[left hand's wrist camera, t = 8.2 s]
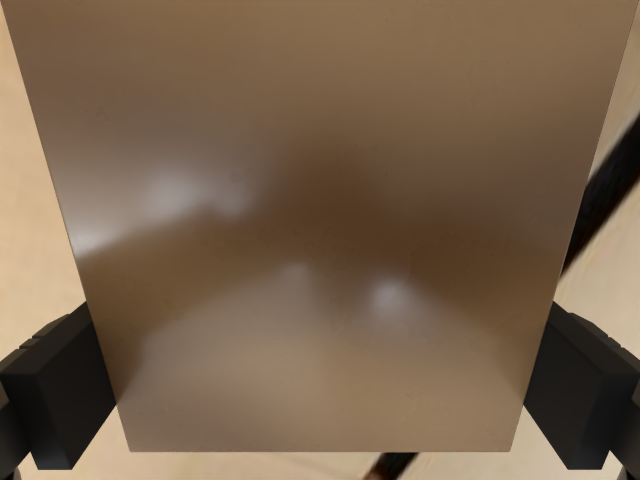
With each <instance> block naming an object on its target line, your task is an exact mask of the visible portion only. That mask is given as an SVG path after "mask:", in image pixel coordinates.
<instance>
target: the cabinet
mask: <svg viewBox="0 0 640 480" xmlns="http://www.w3.org/2000/svg"><path fill="white" fill-rule="evenodd" d="M0 1H1V5H2V8H3V12H4V15H5V19H6V22H7V26H8V29H9V33H10V36H11V39H12V43H13V46H14V50H15V53H16V57H17V60H18V64H19V67H20V71H21V74H22V78H23V81H24V85H25V88H26V92H27V95H28V99H29V102H30V106H31V109H32V113H33V116H34V120H35V123H36V127H37V130H38V134H39V137H40V140H41V144H42V147H43V151H44V154H45V158H46V161H47V165H48V168H49V172H50V175H51V179H52V182H53V186H54V189H55V193H56V196H57V200H58V203H59V207H60V210H61V214H62V217H63V221H64V224H65V228H66V231H67V235H68V238H69V241H70V245H71V248H72V252H73V255H74V259H75V262H76V266H77V269H78V273H79V276H80V280H81V283H82V287H83V290H84V294H85V297H86V301H87V304H88V308H89V311H90V315H91V318H92V322H93V325H94V329H95V332H96V336H97V339H98V342H99V346H100V349H101V353H102V356H103V360H104V363H105V367H106V370H107V374H108V377H109V381H110V384H111V388H112V391H113V395H114V398H115V402H116V405H117V409H118V412H119V416H120V419H121V423H122V426H123V430H124V433H125V437H126V440H127V443H128V447H129V450H130V452H509V451H510V449H511V446H512V442H513V439H514V435H515V432H516V428H517V425H518V421H519V418H520V414H521V411H522V407H523V404H524V400H525V397H526V393H527V390H528V386H529V383H530V379H531V376H532V372H533V369H534V365H535V362H536V358H537V355H538V351H539V348H540V344H541V341H542V337H543V333H544V330H545V326H546V323H547V319H548V316H549V312H550V309H551V305H552V302H553V298H554V295H555V291H556V288H557V284H558V281H559V277H560V274H561V270H562V267H563V263H564V260H565V256H566V253H567V249H568V246H569V242H570V239H571V235H572V232H573V228H574V225H575V221H576V218H577V214H578V211H579V207H580V204H581V200H582V197H583V193H584V190H585V186H586V183H587V179H588V176H589V172H590V169H591V165H592V162H593V158H594V155H595V151H596V148H597V144H598V141H599V137H600V134H601V130H602V127H603V123H604V120H605V116H606V113H607V109H608V106H609V102H610V99H611V95H612V92H613V88H614V85H615V81H616V78H617V74H618V71H619V67H620V64H621V60H622V57H623V53H624V50H625V46H626V42H627V39H628V35H629V32H630V28H631V25H632V21H633V18H634V14H635V11H636V7H637V4H638V0H0Z"/></svg>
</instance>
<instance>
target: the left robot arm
mask: <svg viewBox="0 0 640 480" xmlns="http://www.w3.org/2000/svg"><path fill="white" fill-rule="evenodd" d="M523 405H524V406H525V408H526V409H527V411H528V412H529V414H530V415H531V417H532V418H533V419H534V421H535V422H536V424H537V425H538V427H539V428H540V430H541V431H542V433H543V434H544V436H545V437H546V438H547V440H548V441H549V443H550V444H551V446H552V447H553V449H554V450H555V452H556V453H557V454H558V456H559V457H560V459H561V460H562V462H563V463H564V465H565V466H566V468H567V469H568V470H601V469H602V467H603V465H604V462H605V460H606V458H607V455H608V453H609V450H610V451H611V452H612V453H613V454H614V455H615V457H616V458H617V459H618V460H619V461H620V462H621V464H622V465H623V467H622V469H621V471H620V474H619V476H618V478H617V480H640V360H639V359H638V358H636V357H635V356H634V355H633V354H631V353H630V352H629V351H628V350H626V349H625V348H621V345H620V344H619V343H617V342H616V341H615V340H614V339H612V338H611V337H608V335H607V334H606V333H605V332H603V331H602V330H601V329H600V328H598V327H597V326H596V325H595V324H593V323H592V322H590V321H588V320H586V319H584V318H582V317H580V316H578V315H576V314H574V313H568V312H566V311H565V310H564V309H563V308H561V307H560V306H559V305H558V304H557V303H555V302H554V301H553V302H552V305H551V309H550V312H549V316H548V319H547V323H546V326H545V330H544V333H543V337H542V341H541V344H540V348H539V351H538V355H537V358H536V362H535V365H534V369H533V372H532V376H531V379H530V383H529V386H528V390H527V393H526V397H525V400H524V404H523ZM115 406H116V402H115V398H114V395H113V391H112V388H111V384H110V381H109V377H108V374H107V370H106V367H105V363H104V360H103V356H102V353H101V349H100V346H99V342H98V339H97V336H96V332H95V329H94V325H93V322H92V318H91V315H90V311H89V308H88V304H87V301H85V302H84V303H83V304H82V305H80V306H79V307H78V308H77V309H76V310H74V311H73V312H72V313H71V314H66V315H64V316H62V317H60V318H58V319H57V320H55V321H53V322H51V323H49V324H47V325H46V326H44V327H43V328H42V329H41V330H39V331H38V332H37V333H36V334H34V335H33V336H32V339H28V340H27V341H26V342H24V343H23V344H22V345H21V346H19V349H16V350H14V351H13V352H12V353H10V354H9V355H8V356H7V357H5V358H4V359H3V360H2V361H0V480H21V475H20V471H19V469H18V467H17V466H18V465H19V464H20V463H21V462H22V460H23V459H24V458H25V457H26V456H27V454H28V453H29V452H31V454H32V457H33V459H34V461H35V464H36V466H37V468H38V470H72V469H73V467H74V466H75V464H76V463H77V461H78V460H79V458H80V457H81V455H82V454H83V452H84V451H85V450H86V448H87V447H88V445H89V444H90V442H91V441H92V439H93V438H94V436H95V435H96V433H97V432H98V431H99V429H100V428H101V426H102V425H103V423H104V422H105V420H106V419H107V417H108V416H109V414H110V413H111V412H112V410H113V409H114V407H115Z"/></svg>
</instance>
